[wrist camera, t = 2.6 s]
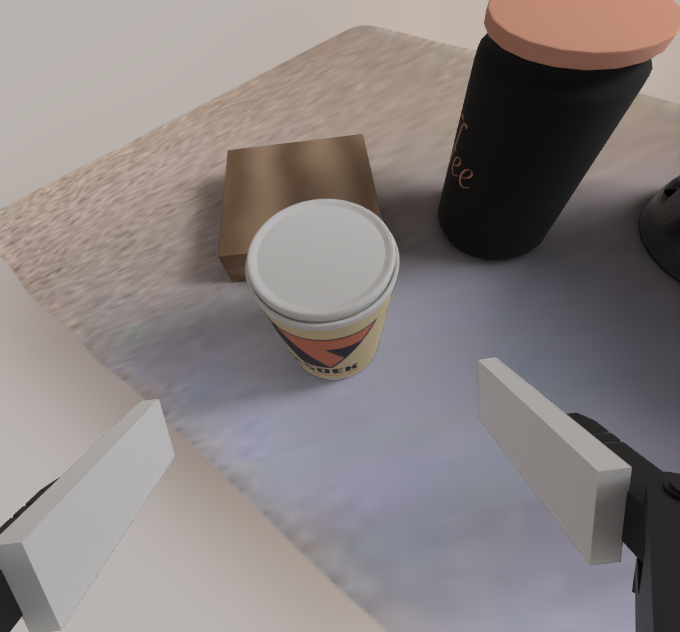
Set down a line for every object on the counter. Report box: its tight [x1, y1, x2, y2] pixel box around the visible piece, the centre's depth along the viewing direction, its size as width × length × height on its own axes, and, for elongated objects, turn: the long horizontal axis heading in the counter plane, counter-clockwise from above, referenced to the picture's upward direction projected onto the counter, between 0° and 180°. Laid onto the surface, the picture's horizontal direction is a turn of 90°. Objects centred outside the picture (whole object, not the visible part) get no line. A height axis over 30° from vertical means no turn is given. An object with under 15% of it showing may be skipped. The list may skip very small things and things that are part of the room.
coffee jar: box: [438, 0, 680, 260], centre depth 29 cm, size 11×11×18 cm
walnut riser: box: [218, 134, 382, 282], centre depth 37 cm, size 15×15×4 cm
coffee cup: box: [245, 199, 399, 380], centre depth 26 cm, size 9×9×12 cm
